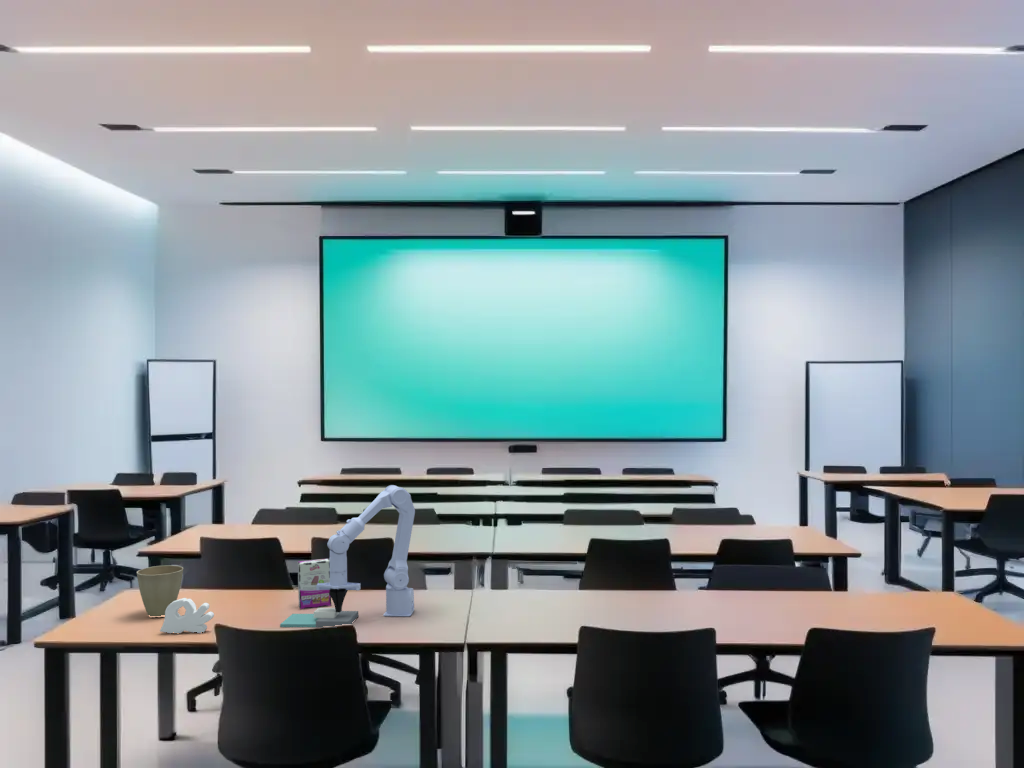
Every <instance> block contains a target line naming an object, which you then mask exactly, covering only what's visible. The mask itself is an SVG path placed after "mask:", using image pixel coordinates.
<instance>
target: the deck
mask: <svg viewBox="0 0 1024 768" xmlns="http://www.w3.org/2000/svg"><path fill="white" fill-rule="evenodd" d="M357 617H358V618H359V610H342V611H341V612H339V614H338V615H337V616H336V617H335V618H319V619H318V620H317V621H316V627H315V628H324V627H323V626H335V625H342V624H352V625H353V623H354V622H355V621H356V620H357V619H358V618H357ZM356 618H357V619H356ZM355 619H356V620H355ZM354 620H355V621H354ZM353 621H354V622H353ZM352 622H353V623H352Z"/></svg>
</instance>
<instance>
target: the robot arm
mask: <svg viewBox="0 0 1024 768" xmlns="http://www.w3.org/2000/svg"><path fill="white" fill-rule="evenodd" d="M392 507H394V509H396V511H397V512H398V520H397V526H396V532H395V537H394V543H393V548H392V549H393V550H392V553H391V554H392V556H391V558H390V560H389V562H388V565H387V567H386V569H385V571H384V573H383V578H384V581H385V582H386V583H387V584H386V586H385V600H386V601H385V606H386V608H385V610H386V611H385V612H384V613H383V614H382V616H383V617H411V616H412V614H413V613H414V611H415V591H414V588H412V587H408V584H409V582H410V578H409V573H408V572H409V566H408V563H407V561H408V554H409V549H410V543H411V537H412V531H413V526H414V522H415V521H414V520H415V514H416V510H415V506H414V504H413V500H412V496H411V494H410V493H409V492H408V490H406V488H404V487H401V486H397V485H394V484H390V485H388V486H386V488H385V489H384V490H382V491H380V493H379V494H378V495H377V496H376V498H374V500H373V501H372V502H371V503H370V504H369V505H368V506H367V507H366V508H365V509H364V510H363V511H362V513H360V514H359V516H358V517H352V518H351V519H347V520H346V523H345V524H344V525H343V526H342V528H340V529H338V530H337V531H336V532H335V534H332V535H331V536H330V537H329V539H328V541H327V545H326V546H327V548H328V549H329V558H328V559H329V563H330V583H318V584H317V585H316V590H330V592H329V595H330V596H331V601H332V602H333V606H334V608H335V609H336V612H341V611H343V609H342V608H343V603H344V601H345V598H346V596H347V593H348V591H360V590H361V582H360V583H359V582H349V581H348V556H347V551H348V550H349V547H350V544H352V542H353V541H355V539H357V537H359V535H361V534H362V533H363V532H364V531H365V528H366V527H365V526H366V525H365V524H367V523H368V522H369V521H371V519H372V518H374V516H375V515H377V514H378V513H379V512H380V511H381V510H382V509H385V508H392Z"/></svg>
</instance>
